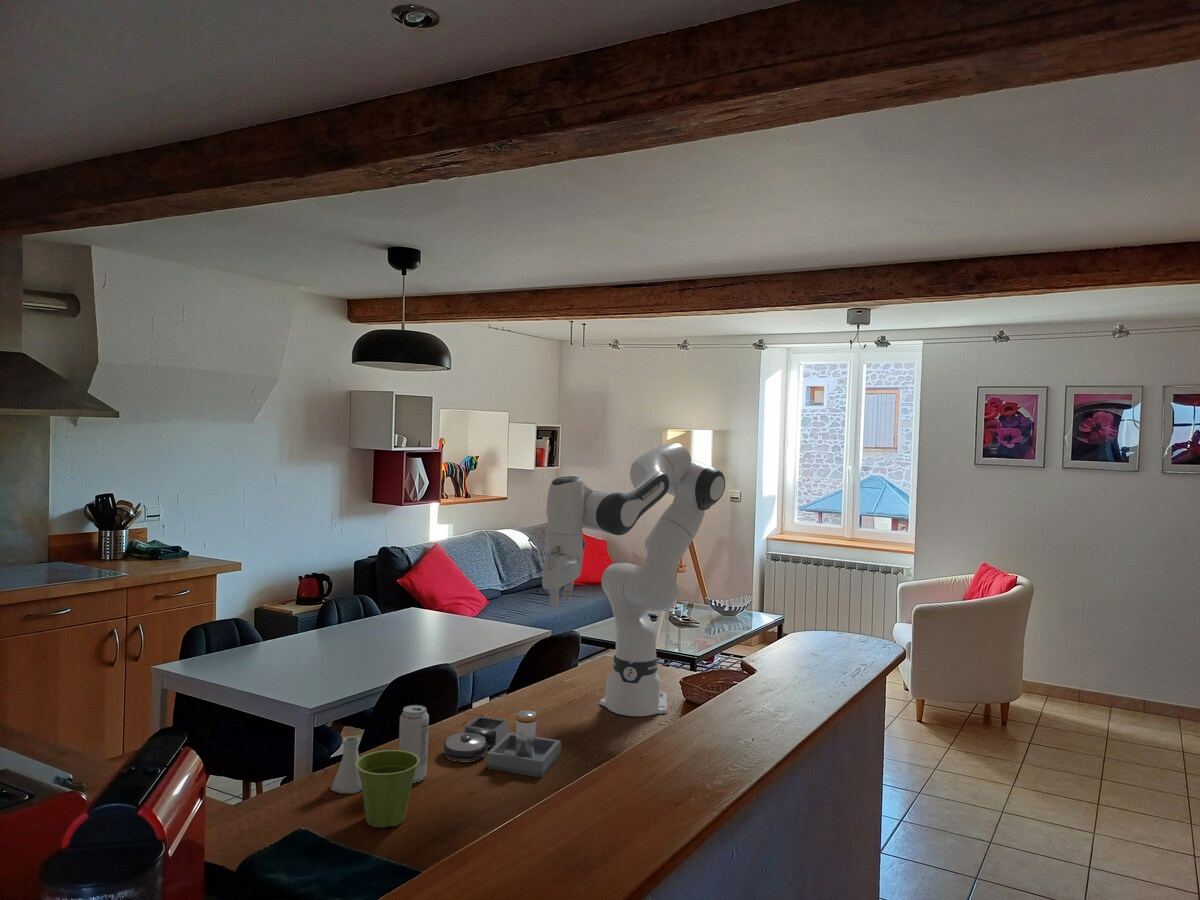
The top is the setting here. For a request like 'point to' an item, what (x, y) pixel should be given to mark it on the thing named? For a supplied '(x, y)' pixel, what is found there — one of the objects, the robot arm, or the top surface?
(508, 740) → the tray
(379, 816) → the plant pot
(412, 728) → the energy drink can
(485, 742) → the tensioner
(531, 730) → the glass shaker
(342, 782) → the flask
